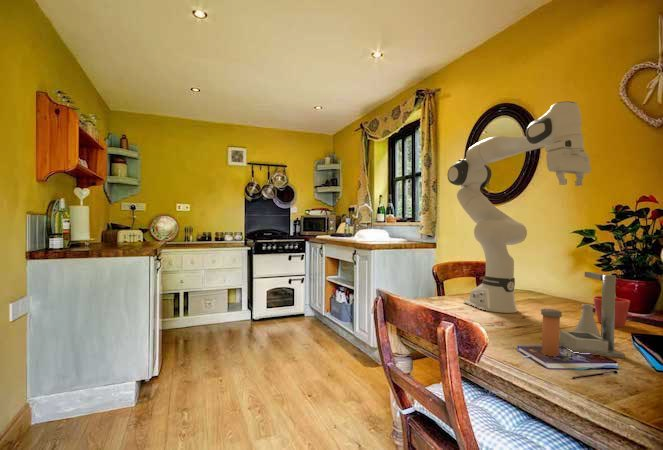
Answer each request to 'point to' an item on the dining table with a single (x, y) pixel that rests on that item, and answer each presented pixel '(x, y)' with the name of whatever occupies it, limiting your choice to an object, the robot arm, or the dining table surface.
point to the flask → (587, 321)
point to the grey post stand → (605, 344)
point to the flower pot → (620, 310)
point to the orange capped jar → (550, 331)
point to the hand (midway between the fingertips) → (571, 185)
